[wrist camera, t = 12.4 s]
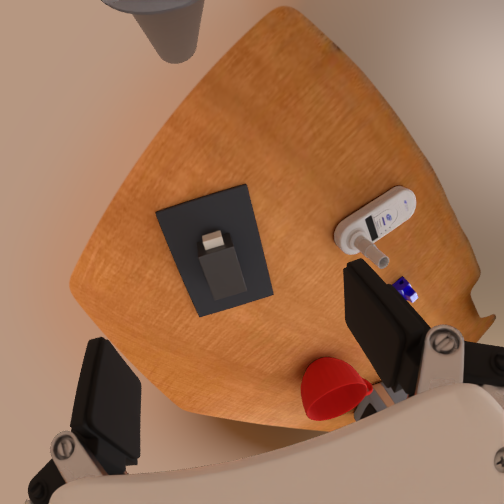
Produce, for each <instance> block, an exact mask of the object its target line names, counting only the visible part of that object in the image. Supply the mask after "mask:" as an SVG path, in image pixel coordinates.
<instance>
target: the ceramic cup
mask: <svg viewBox="0 0 504 504" xmlns="http://www.w3.org/2000/svg"><path fill="white" fill-rule="evenodd" d="M367 388H368V389H367ZM367 390H369V391H367ZM372 391H373V387H372V385H371V384H370V383H369V382H368V381H367V380H365V379H363V378H361V376H360V375H359V374H358V373H357V371H356V370H355V369H354V368H353V367H352V366H351V365H349V364H348V363H346V362H344V361H342V360H339V359H335V358H331V357H323V358H320V359H317V360H315V361H314V362H312V363H311V364H310V365H309V366H308V368H307V370H306V372H305V374H304V376H303V379H302V383H301V397H302V402H303V406H304V409H305V412H306V415H307V416H308V418H310V419H311V420H316V421H322V420H328V419H332V418H335V417H338V416H340V415H342V414H344V413H346V412H348V411H350V410H351V409H353V408H354V407H355V406H357V405H358V404H359V403H360V402H361V401H362V400H363V399H364V397H365V396H367V395H370V394H371V393H372Z"/></svg>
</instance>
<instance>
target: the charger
mask: <svg viewBox="0 0 504 504" xmlns="http://www.w3.org/2000/svg"><path fill="white" fill-rule="evenodd" d="M202 240H203V241H200V242H197V250H198V258H199V261H200V264H201V266H202V269H203V272H204V274H205V277H206V279H207V282H208V284H209V287H210V290H211V292H212V295H213V297H214V300H218V299H221V298H225V297H228V296H231V295H235V294H238V293H241V292H244V291H247V288H246V285H245V282H244V278H243V275H242V272H241V269H240V265H239V262H238V259H237V255H236V252H235V249H234V245H233V242H232V239H231V236H230V233H226V234H223V235H221V232H220V231H216V232H213V233H210V234H207V235H203V236H202Z"/></svg>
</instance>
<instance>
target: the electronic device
mask: <svg viewBox="0 0 504 504" xmlns="http://www.w3.org/2000/svg"><path fill="white" fill-rule="evenodd" d="M415 208H416V198H415V195H414V193H413V192H412V191H411V190H409V189H407V188H405V187H403V186H396V187H394V188H392V189H390V190H389V191H387V192H386V193H384V194H383V195H381V196H380V197H378V198H377V199H375V200H373V201H372V202H370V203H369V204H367V205H366V206H364V207H362V208H361V209H359V210H358V211H356V212H355V213H353V214H352V215H350V216H348V217H347V218H345V219H344V220H342V221H341V222H340V223H339V224H338V226H337V227H336V230H335V233H334V241H335V243H336V245H337V246H338V247H339V248H340V249H341V250H342V251H343V252H344V253H346V254H349V255H351V254H357V253H359V252H361V253H362V254H363V255H364V256H366V257H367V258H369V259H370V260H371V261H372V262H373V263H374V264H376V265H377V266H378V267H379V268H380V269H383V268H385V267H386V266H387V265H388V263H389V258H388V257H387V256H386V255H385V254H383V253H382V252H381V251H380V250H379V249H377V247H376V246H375V245H374V244H373V243H374V242H376V241H377V240H379V239H380V238H382V237H383V236H384V235H386V234H387V233H389V232H390V231H392V230H393V229H395V228H396V227H397V226H399V225H400V224H402V223H403V222H405V221H406V220H407V219H409V218H410V217H411V216H412V214H413V213H414V210H415Z"/></svg>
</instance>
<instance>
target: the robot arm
mask: <svg viewBox="0 0 504 504" xmlns="http://www.w3.org/2000/svg"><path fill="white" fill-rule="evenodd" d="M343 275H344V298H345V320H346V324H347V326H348V328H349V329H350V331H351V332H352V334H353V335H354V337H355V339H356V340H357V342H358V343H359V345H360V346H361V348H362V350H363V351H364V353H365V354H366V356H367V358H368V359H369V361H370V362H371V364H372V366H373V367H374V369H375V370H376V372H377V374H378V375H379V377H380V379H381V380H382V382H383V383H384V385H385V386H386V388H390V387H391V389H392V390H393V392H394V393H396V392H398V391H400V390H402V389H403V390H404V392H405V393H406V394H408V396H407V399H405V400H403V401H401V402H399V403H396V404H394V405H392V406H390V407H388V408H386V409H384V410H382V411H379V412H377V413H375V414H373V415H370V416H368V417H366V418H363V419H361V420H359V421H356V422H354V423H351V424H349V425H347V426H344V427H342V428H339V429H337V430H334V431H331V432H329V433H326V434H324V435H321V436H318V437H315V438H312V439H309V440H306V441H303V442H300V443H297V444H294V445H291V446H288V447H284V448H281V449H277V450H274V451H270V452H266V453H263V454H259V455H255V456H251V457H246V458H242V459H238V460H233V461H228V462H224V463H219V464H213V465H207V466H201V467H195V468H189V469H182V470H173V471H165V472H154V473H141V474H128V473H127V472H126V466H128V465H137V458H139V457H140V413H141V411H140V410H141V382H140V380H139V379H138V377H137V376H136V375H135V374H134V372H133V371H132V370H131V369H130V367H129V366H128V365H127V364H126V362H125V361H124V360H123V359H122V357H121V356H120V355H119V353H118V352H117V351H116V349H115V348H114V347H113V345H112V344H111V343H110V341H109V340H105V339H104V338H103V337H100V338H95V339H91V340H89V342H88V345H87V348H86V352H85V356H84V360H83V364H82V368H81V373H80V377H79V381H78V386H77V391H76V396H75V401H74V406H73V412H72V418H71V424H70V427H71V428H72V429H71V432H70V431H63V432H60V433H59V434H57V435H56V436H55V437H54V439H53V441H52V443H51V447H50V453H51V456H52V459H51V460H50V461H49V462H48V463H47V464H46V465H45V467H44V468H42V470H40V471H39V472H38V474H37V475H36V476H35V477H34V478H33V479H32V480H31V481H30V483H29V487H28V494H29V498H30V501H29V500H26V502H25V504H504V347H499V346H493V345H486V344H480V343H473V342H467V341H464V338H463V336H462V334H461V332H459V331H458V330H457V329H456V328H454V327H452V326H449V325H438V326H434V327H433V328H430V327H429V325H428V324H427V323H426V322H425V321H424V320H423V318H422V317H421V316H420V315H419V314H418V313H417V312H416V311H415V309H414V308H413V307H412V306H411V305H410V304H409V303H408V302H407V301H406V299H405V298H404V297H403V296H402V295H401V294H400V293H399V292H398V291H397V290H396V289H395V288H394V287H393V286H392V285H391V284H386V283H385V282H384V281H383V280H382V279H381V278H380V277H379V276H378V274H377V273H376V272H375V271H374V270H373V269H372V268H371V267H370V266H369V265H368V264H367V263H366V262H365V261H364V260H363V259H361V258H360V259H357V260H354V261H352V262H349V263H347V267H346V268H344V269H343Z"/></svg>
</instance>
